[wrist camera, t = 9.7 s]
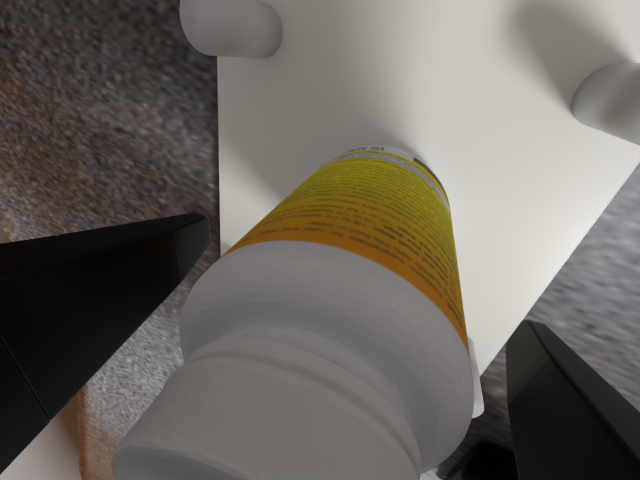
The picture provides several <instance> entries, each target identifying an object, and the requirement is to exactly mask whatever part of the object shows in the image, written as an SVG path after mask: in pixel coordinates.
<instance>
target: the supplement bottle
mask: <svg viewBox="0 0 640 480" xmlns="http://www.w3.org/2000/svg"><path fill="white" fill-rule="evenodd" d="M180 344H181V349H182V354H183V358H184V361H185V363H184V364H183V366H181V367H179V368H178V369H177V370H176V371H175V372H174V373H172V374H171V376H170V377H169V378H168V380H167V381H166V384H165V386H164V388H163V390H162V391H161V393H160V394H159V395H158V397H157V398H156V399H155V400H154V402H153V403H152V404H151V405H150V407H149V408H148V409H147V410H146V412H145V413H144V414H143V415H142V416H141V418H140V419H139V420H138V421H137V422H136V424H135V425H134V426H133V427H132V428H131V430H130V431H129V432H128V433H127V434H126V436H125V437H124V438H123V439H122V441H121V442H120V444H119V445H118V447H117V448H116V450H115V452H114V454H113V457H112V470H113V474H114V477H115V479H116V480H420V474H422V473H424V472H426V471H428V470H430V469H432V468H434V467H436V466H438V465H439V464H441V463H442V462H443V461H445V460H446V459H447V458H448V457H449V456H450V455H451V454H452V453H453V452H454V451H455V450H456V449H457V448H458V446H459V445H460V443H461V442H462V441H463V439H464V437H465V435H466V433H467V431H468V428H469V425H470V423H471V419H472V415H473V409H474V383H473V375H472V368H471V360H470V353H469V345H468V337H467V331H466V324H465V317H464V309H463V301H462V293H461V286H460V279H459V271H458V263H457V256H456V248H455V241H454V233H453V226H452V218H451V211H450V204H449V201H448V197H447V194H446V191H445V189H444V187H443V185H442V183H441V182H440V180H439V178H438V177H437V176H436V174H435V173H434V172H433V171H432V170H431V169H430V168H429V167H428V166H427V165H426V164H425V163H424V162H423V161H422V160H420V159H419V158H417V157H416V156H414V155H412V154H410V153H408V152H406V151H404V150H401V149H398V148H395V147H390V146H384V145H364V146H358V147H354V148H350V149H348V150H345V151H343V152H341V153H339V154H337V155H335V156H333V157H332V158H330V159H329V160H328V161H326V162H325V163H324V164H322V165H321V166H320V167H319V168H318V169H317V170H316V171H315V172H314V173H313V174H312V175H311V176H310V177H308V178H307V179H306V180H305V181H304V182H303V183H302V184H301V185H300V186H298V187H297V188H296V189H295V190H294V191H293V192H292V193H291V194H290V195H289V196H287V197H286V198H285V199H284V200H283V201H282V202H281V203H279V204H278V205H277V206H276V207H275V208H274V209H273V210H272V211H271V212H269V213H268V214H267V215H266V216H265V217H264V218H263V219H262V220H261V221H260V222H259V223H257V224H256V225H255V226H254V227H253V228H252V229H251V230H250V231H249V232H248V233H247V234H246V235H244V236H243V237H242V238H241V239H240V240H239V241H238V242H237V243H236V244H235V245H234V246H232V247H231V248H230V249H229V250H228V251H227V252H226V253H225V254H224V255H223V256H221V257H220V258H219V259H218V260H217V261H216V262H215V263H214V264H213V265H212V266H211V267H210V268H209V269H208V270H207V271H206V272H205V273H204V274H203V275H202V276H201V277H200V278H199V279H198V281H197V282H196V283H195V284H194V286H193V287H192V289H191V291H190V293H189V295H188V297H187V298H186V300H185V303H184V306H183V310H182V314H181V320H180Z"/></svg>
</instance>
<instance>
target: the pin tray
mask: <svg viewBox="0 0 640 480" xmlns="http://www.w3.org/2000/svg"><path fill="white" fill-rule="evenodd" d="M179 15H180V21H181V26H182V29H183V31H184V34H185V36H186V38H187V39H188V41H189V42H190V44H191V45H192V46H193V47H194V48H195V49H196V50H197V51H199V52H201V53H203V54H205V55H210V56H217V78H218V135H219V192H220V249H221V256H223V255H224V254H225V253H226V252H227V251H228V250H229V249H230V248H231V247H232V246H234V245H235V244H236V243H237V242H238V241H239V240H240V239H241V238H242V237H243V236H244V235H246V234H247V233H248V232H249V231H250V230H251V229H252V228H253V227H254V226H255V225H256V224H257V223H259V222H260V221H261V220H262V219H263V218H264V217H265V216H266V215H267V214H268V213H269V212H271V211H272V210H273V209H274V208H275V207H276V206H277V205H278V204H279V203H281V202H282V201H283V200H284V199H285V198H286V197H287V196H289V195H290V194H291V193H292V192H293V191H294V190H295V189H296V188H297V187H298V186H300V185H301V184H302V183H303V182H304V181H305V180H306V179H307V178H308V177H310V176H311V175H312V174H313V173H314V172H315V171H316V170H317V169H318V168H319V167H320V166H321V165H322V164H324V163H325V162H326V161H328V160H329V159H330V158H332V157H333V156H335V155H337V154H339V153H341V152H343V151H345V150H348V149H350V148H354V147H358V146H364V145H384V146H390V147H395V148H398V149H401V150H404V151H406V152H408V153H410V154H412V155H414V156H416V157H417V158H419V159H420V160H422V161H423V162H424V163H425V164H426V165H427V166H428V167H429V168H430V169H431V170H432V171H433V172H434V173H435V174H436V176H437V177H438V178H439V180H440V182H441V183H442V185H443V187H444V189H445V191H446V194H447V197H448V201H449V204H450V211H451V218H452V226H453V233H454V241H455V248H456V256H457V263H458V271H459V279H460V286H461V293H462V301H463V309H464V317H465V324H466V331H467V337H468V345H469V353H470V360H471V368H472V375H473V383H474V409H473V415H472V418H475V417H478V416H480V415H481V414H482V413H483V411H484V403H483V396H482V390H481V384H480V376H481V375H482V373H483V372H484V371H485V369H486V368H487V367H488V365H489V364H490V363H491V361H492V360H493V359H494V357H495V356H496V354H497V353H498V352H499V350H500V349H501V348H502V346H503V345H504V344H505V342H506V341H507V340H508V338H509V337H510V336H511V334H512V333H513V332H514V330H515V329H516V328H517V326H518V325H519V324H520V322H521V321H522V320H523V318H524V317H525V315H526V314H527V313H528V311H529V310H530V309H531V307H532V306H533V305H534V303H535V302H536V301H537V299H538V298H539V297H540V295H541V294H542V293H543V291H544V290H545V289H546V287H547V286H548V285H549V283H550V282H551V281H552V279H553V278H554V277H555V275H556V274H557V272H558V271H559V270H560V268H561V267H562V266H563V264H564V263H565V262H566V260H567V259H568V258H569V256H570V255H571V254H572V252H573V251H574V250H575V248H576V247H577V246H578V244H579V243H580V242H581V240H582V239H583V238H584V236H585V235H586V233H587V232H588V231H589V229H590V228H591V227H592V225H593V224H594V223H595V221H596V220H597V219H598V217H599V216H600V215H601V213H602V212H603V211H604V209H605V208H606V207H607V205H608V204H609V203H610V201H611V200H612V199H613V197H614V196H615V194H616V193H617V192H618V190H619V189H620V188H621V186H622V185H623V184H624V182H625V181H626V180H627V178H628V177H629V176H630V174H631V173H632V172H633V170H634V169H635V168H636V166H637V165H638V164H639V162H640V0H180V6H179Z"/></svg>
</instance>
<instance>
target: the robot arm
mask: <svg viewBox="0 0 640 480" xmlns="http://www.w3.org/2000/svg"><path fill="white" fill-rule="evenodd" d="M209 244H210V220H209V218H208V217H207V216H205V215H202V214H199V213H189V214H183V215H177V216H171V217H165V218H159V219H153V220H146V221H140V222H134V223H128V224H122V225H116V226H110V227H103V228H97V229H91V230H85V231H79V232H73V233H67V234H61V235H58V236H48V237H42V238H36V239H29V240H22V241H16V242H9V243H2V244H0V474H1V473H2V472H3V471H4V470H5V469H6V468H7V467H8V466H9V465H10V464H11V463H12V461H13V460H14V459H15V458H16V457H17V456H18V455H19V454H20V453H21V452H22V451H23V450H24V449H25V448H26V447H27V445H29V444H30V442H31V441H32V440H33V439H34V438H35V437H36V436H37V435H38V434H39V433H40V432H41V431H42V430H43V429H44V428H45V426H46V425H47V424H48V423H49V422H50V420H51V419H53V418H54V417H55V416H56V415H57V414H58V412H59V411H60V410H61V409H62V408H63V407H64V406H65V405H66V404H67V403H68V402H69V401H70V400H71V399H72V398H73V397H74V396H75V394H76V393H77V392H78V391H79V390H80V389H81V388H82V387H83V386H84V385H85V384H86V383H87V382H88V381H89V380H90V379H91V377H92V376H93V375H94V374H95V373H96V372H97V371H98V370H99V369H100V368H101V367H102V366H103V365H104V364H105V363H106V362H107V361H108V359H109V358H110V357H111V356H112V355H113V354H114V353H115V352H116V351H117V350H118V349H119V348H120V347H121V346H122V345H123V344H124V342H125V341H126V340H127V339H128V338H129V337H130V336H131V335H132V334H133V333H134V332H135V331H136V330H137V329H138V328H139V327H140V326H141V324H142V323H143V322H144V321H145V320H146V319H147V318H148V317H149V316H150V315H151V314H152V313H153V312H154V311H155V310H156V309H157V308H158V306H159V305H160V304H161V303H162V302H163V301H164V300H165V299H166V298H167V297H168V296H169V295H170V294H171V293H172V292H173V291H174V289H175V288H176V287H177V286H178V285H179V284H180V283H181V281H182V280H183V279H184V278H185V277H186V275H187V274H188V273H189V271H190V270H191V269H192V267H193V266H194V265H195V263H196V262H197V261H198V259H199V258H200V257H201V255H202V254H203V253H204V252H205V250H206V249H207V248H208V246H209ZM506 377H507V403H508V412H509V419H510V426H511V432H512V439H513V446H514V452H515V454H514V453H511V452H509V451H506V450H504V449H501V448H499V447H496V446H494V445H491V444H489V443H483V442H482V443H478V444H477V445H476V446H475V447H474V448H473V449H472V450H471V451H470V452H469V453H468V454H467V456H466V457H465V458H464V459H463V460H462V461H461V462H460V463H459V464H458V465H457V466H456V468H455V469H454V470H453V471H452V472H451V473H450V474H449V475H448V476H447V477H446V478H445V480H640V412H639V411H638V410H637V409H636V408H635V407H634V406H633V405H632V404H630V403H629V402H628V401H627V400H626V399H625V398H624V397H623V396H622V395H621V394H620V393H619V392H617V391H616V390H615V389H614V388H613V387H612V386H611V385H610V384H609V383H608V382H607V381H606V380H604V379H603V378H602V377H601V376H600V375H599V374H598V373H597V372H596V371H595V370H594V369H593V368H591V367H590V366H589V365H588V364H587V363H586V362H585V361H584V360H583V359H582V358H581V357H580V356H578V355H577V354H576V353H575V352H574V351H573V350H572V349H571V348H570V347H569V346H568V345H567V344H565V343H564V342H563V341H562V340H561V339H560V338H559V337H558V336H557V335H556V334H555V333H554V332H552V331H551V330H550V329H549V328H548V327H547V326H546V325H544V324H542V323H539V322H536V321H533V320H530V319H525V320H523V321H522V322H521V323H520V324H519V326H518V327H517V328H516V330H515V331H514V332H513V334H512V335H511V336H510V338H509V339H508V341H507V344H506Z"/></svg>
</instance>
